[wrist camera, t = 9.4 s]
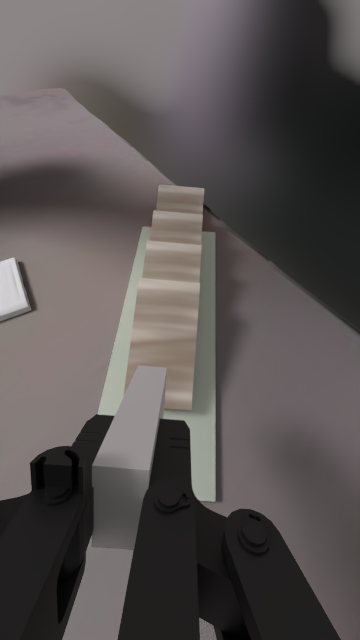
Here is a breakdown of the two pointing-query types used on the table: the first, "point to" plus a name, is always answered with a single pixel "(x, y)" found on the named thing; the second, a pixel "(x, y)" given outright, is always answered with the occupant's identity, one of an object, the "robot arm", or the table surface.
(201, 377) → the board
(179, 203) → the domino
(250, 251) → the table surface
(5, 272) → the external hard drive
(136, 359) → the domino
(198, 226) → the domino
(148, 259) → the domino
